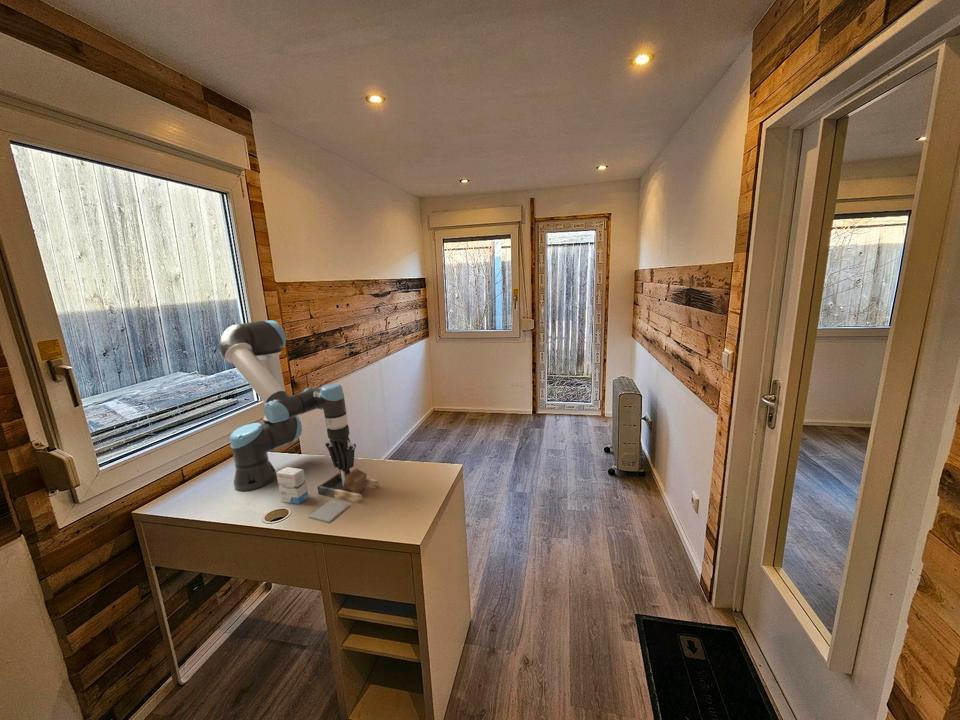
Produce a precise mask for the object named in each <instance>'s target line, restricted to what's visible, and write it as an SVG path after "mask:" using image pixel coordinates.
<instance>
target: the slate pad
mask: <svg viewBox="0 0 960 720" xmlns="http://www.w3.org/2000/svg"><path fill="white" fill-rule="evenodd" d="M350 507H351V504H348V503H345V502H341V501H336V500H332V499H331V500H329V501H327V502H326V503H325V504H323V505H322V506H320V507H319V508H318V509H316V510H315V511H314V512H312V513H311V514H310V515H308V518H309V519H312V520H315V521H319V522H324V523H328V524H330V523H331V522H332V521H333V520H335V519H336V518H337V517H338V516H340V515H341V514H342V513H343V512H344V511H345V510H347V509H348V508H350Z"/></svg>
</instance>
